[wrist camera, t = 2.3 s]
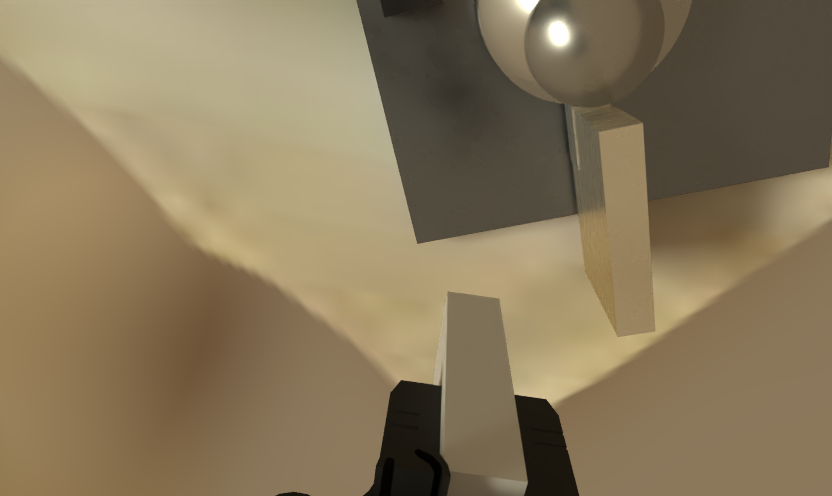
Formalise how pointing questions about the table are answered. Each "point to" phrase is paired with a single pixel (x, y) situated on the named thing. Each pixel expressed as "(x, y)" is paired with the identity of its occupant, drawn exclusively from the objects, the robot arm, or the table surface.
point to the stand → (649, 103)
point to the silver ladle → (595, 122)
